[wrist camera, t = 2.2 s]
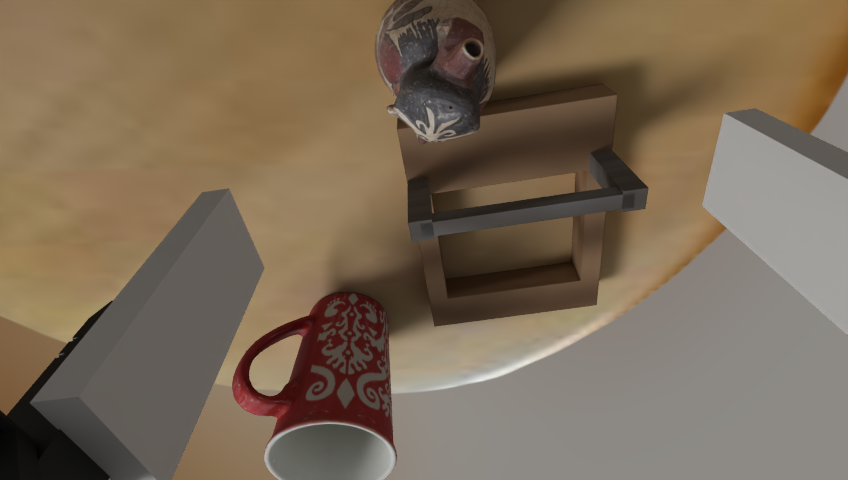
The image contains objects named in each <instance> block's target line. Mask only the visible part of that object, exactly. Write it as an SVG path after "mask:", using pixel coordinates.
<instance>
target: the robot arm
mask: <svg viewBox="0 0 848 480" xmlns="http://www.w3.org/2000/svg"><path fill="white" fill-rule="evenodd" d="M702 206H703V207H704V208H705V209H706V210H707V211H708V212H710V213H711V214H712V215H713V216H714V217H715V218H716V219H717V220H719V221H720V222H721V223H722V224H723V225H724V226H725V227H726V228H728V229H729V230H730V231H731V232H732V233H733V234H734V235H735V236H737V237H738V238H739V239H740V240H741V241H742V242H743V243H744V244H745V245H747V246H748V247H749V248H750V249H751V250H752V251H753V252H755V253H756V254H757V255H758V256H759V257H760V258H761V259H762V260H763V261H765V262H766V263H767V264H768V265H769V266H770V267H772V269H774V270H775V271H776V272H777V273H778V274H779V275H780V276H782V277H783V278H784V279H785V280H786V281H787V282H788V283H789V284H790V285H792V286H793V287H794V288H795V289H796V290H797V291H798V292H799V293H801V294H802V295H803V296H804V297H805V298H806V299H807V300H809V301H810V302H811V303H812V304H813V305H814V306H815V307H816V308H818V309H819V310H820V311H821V312H822V313H823V314H824V315H825V316H826V317H828V318H829V319H830V320H831V321H832V322H833V323H834V324H835V325H837V326H838V327H839V328H840V329H841V330H842V331H843V332H845V333H846V334H847V335H848V152H846V151H844V150H842V149H840V148H837V147H835V146H833V145H831V144H829V143H827V142H825V141H823V140H820V139H819V138H816V137H814V136H812V135H810V134H808V133H806V132H804V131H802V130H800V129H797V128H795V127H793V126H791V125H789V124H787V123H785V122H783V121H781V120H778V119H776V118H774V117H772V116H770V115H768V114H766V113H764V112H762V111H760V110H757V109H755V108H754V109H748V110H741V111H735V112H728V113H724V116H723V120H722V124H721V129H720V133H719V137H718V141H717V145H716V150H715V154H714V158H713V162H712V167H711V171H710V175H709V179H708V183H707V188H706V192H705V196H704V200H703V204H702ZM263 270H264V266H263V263H262V261H261V259H260V257H259V255H258V252H257V250H256V248H255V246H254V243H253V241H252V239H251V237H250V234H249V232H248V230H247V228H246V225H245V223H244V221H243V219H242V216H241V214H240V212H239V210H238V207H237V205H236V203H235V201H234V198H233V196H232V194H231V192H230V190H229V189H222V190H216V191H209V192H203V193H201V194H200V196H199V197H198V198H197V199H196V201H195V202H194V203H193V204H192V205H191V207H190V208H189V209H188V210H187V212H186V213H185V214H184V215H183V216H182V218H181V219H180V220H179V221H178V222H177V224H176V225H175V226H174V227H173V229H172V230H171V231H170V232H169V233H168V235H167V236H166V237H165V238H164V240H163V241H162V242H161V243H160V244H159V246H158V247H157V248H156V249H155V251H154V252H153V253H152V254H151V255H150V257H149V258H148V259H147V260H146V262H145V263H144V264H143V265H142V266H141V268H140V269H139V270H138V271H137V273H136V274H135V275H134V276H133V277H132V279H131V280H130V281H129V282H128V283H127V285H126V286H125V287H124V288H123V290H122V291H121V292H120V293H119V294H118V296H117V297H116V298H115V299H114V301H111V302H109V303H108V304H107V305H106V306H104V307H103V308H102V309H100V310H99V311H98V312H97V313H95V314H94V315H93V316H91V317H90V318H89V319H88V320H87V321H86V322H85V324H84V325H83V326H82V327H81V328H80V330H79V331H78V332H77V333H76V334H75V335H74V337H73V341H71V342H69V343H68V344H67V345H66V346H65V347H64V348H63V350H62V351H61V352H60V353H59V358H55V359H54V360H53V362H52V363H51V364H50V365H49V366H48V367H47V369H46V370H45V371H44V372H43V373H42V375H41V376H40V377H39V378H38V379H37V380H36V382H35V383H34V384H33V385H32V387H30V389H29V390H28V391H27V392H26V393H25V394H24V396H23V397H22V398H21V399H20V400H19V402H18V403H17V404H16V405H15V406H14V407H13V409H12V410H11V411H10V412H9V413H8V415H7V416H6V415H5V414H4V413H2V412H1V411H0V480H108V479H109V478H110V479H111V480H172V478H173V475H174V473H175V471H176V468H177V466H178V464H179V461H180V459H181V457H182V455H183V452H184V450H185V448H186V445H187V443H188V441H189V439H190V436H191V434H192V432H193V430H194V427H195V425H196V423H197V420H198V418H199V416H200V414H201V411H202V409H203V407H204V404H205V402H206V400H207V397H208V395H209V393H210V391H211V388H212V386H213V384H214V382H215V379H216V377H217V375H218V373H219V370H220V368H221V366H222V363H223V361H224V359H225V357H226V354H227V352H228V350H229V347H230V345H231V343H232V341H233V338H234V336H235V334H236V331H237V329H238V327H239V325H240V322H241V320H242V318H243V315H244V313H245V311H246V309H247V306H248V304H249V302H250V300H251V297H252V295H253V293H254V290H255V288H256V286H257V284H258V281H259V279H260V277H261V274H262V272H263Z"/></svg>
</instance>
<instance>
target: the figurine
mask: <svg viewBox="0 0 848 480" xmlns="http://www.w3.org/2000/svg"><path fill="white" fill-rule="evenodd" d="M375 57H376V63H377V66H378V70H379V73H380V75H381V77H382V79H383V81H384V83H385V85H386V86H387V87H388V88H389V89H390V91H391V92H392V94H393V95H394V96H395V97H396V101H395V104H394V105H389V106H388V107H387V111H388V112H389V113H390V114H391V115H394V116H397V117H399V118H400V119H401V120H402V121H403V122H404V123H405V124H406V125H407V126H409V127H410V128H411V129H412V130H413V131H414V132H415V133H416V135H417V140H418V141H419V142H420V144H425V143H426V142H444V141H448V140H453V139H457V138H461V137H465V136H468V135H472V134H474V133H475V132H477V131H478V130H479V128H480V111H481V110H483V108H484V106H485V105H486V103H487V101H488V100H489V98H490V96H491V93H492V90H493V87H494V84H495V75H496V48H495V43H494V38H493V31H492V29H491V27H490V25H489V23H488V20H487V18H486V16H485V14H484V12H483V11H482V10H481V9H480V8H479V7H478V5H477V4H476V3H475V2H474V1H473V0H396V1H395V2H394V3H393V4H392V5H391V6H390V8H389V9H388V10H387V11H386V13H385V14H384V16H383V18H382V20H381V23H380V25H379V28H378V30H377V35H376V42H375Z"/></svg>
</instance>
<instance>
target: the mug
mask: <svg viewBox="0 0 848 480" xmlns="http://www.w3.org/2000/svg"><path fill="white" fill-rule="evenodd" d="M296 334H298V335H301V336H302V337H303V339H302V342H301V345H300V348H299V351H298V355H297V358H296V361H295V364H294V368H293V371H292V374H291V377H290V380H289V383H287V384H286V385H285V387H284V388H283V390H282V391H281V392H280V393H279V394H277V395H275V396H266V395H263V394H261V393H258V392H257V391H256V390H255V389H254V388H253V386H252V385H251V382H250V380H249V369H250V366H251V363H252V361H253V359H254V358H255V357H256V356H257V355H258V354H259V353H260V352H262V351H263V350H264V349H266V348H268V347H269V346H271V345H273V344H274V343H276V342H278V341H280V340H282V339H284V338H287V337H289V336H292V335H296ZM232 389H233V394H234V398H235V400H236V401H237V403H238V404H239V405H240V406H241V407H242V408H243V409H244V410H246V411H248V412H250V413H252V414H255V415H259V416H275V417H277V418H278V420H277V423H276V426H275V429H274V433H273V435H272V438H271V439H270V440H269V442H268V444H267V445H266V448H265V452H264V460H265V464H266V466H267V468H268V469H269V471H270V472H271V473H272V474H273V475H274V476H275V477H276V478H278V479H279V480H383V479H385V478H386V477H387V476H388V475H389V474H390V473H391V472H392V471H393V469H394V467H395V465H396V460H397V454H396V449H395V447H394V444H393V429H392V428H393V427H392V401H391V383H390V359H389V332H388V319H387V315H386V313H385V311H384V309H383V308H382V307H381V306H380V305H379V304H378V303H377V302H376V301H374V300H373V299H371V298H369V297H366V296H364V295H360V294H355V293H338V294H333V295H330V296H327V297H325V298H323V299H322V300H320V301H319V302H318V303H317V304H315V306H314V307H313V308H312V310H311V312H310V315H309V316H305V317H302V318H300V319H297V320H294V321H291V322H289V323H286V324H284V325H282V326H280V327H278V328H276V329H274V330H272V331H270V332H269V333H267V334H265V335H264V336H262V337H261V338H260V339H258V340H257V341H256V342H255V343H254V344H253V345H252V346H251V347H250V348H249V349H248V350H247V351H246V353H245V354H244V356H243V357H242V359H241V360H240V362H239V364H238V366H237V368H236V371H235V373H234V377H233V382H232Z"/></svg>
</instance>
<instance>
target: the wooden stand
mask: <svg viewBox="0 0 848 480" xmlns="http://www.w3.org/2000/svg"><path fill="white" fill-rule="evenodd" d="M616 104H617V94H616V93H614V92H613V91H611V90H610V89H609V88H607V87H606V86H605V85H603V84H600V85H593V86H587V87H581V88H574V89H568V90H562V91H556V92H549V93H543V94H537V95H530V96H524V97H518V98H512V99H505V100H499V101H493V102H487V103H486V105H485V106H484V108H483V110H481V111H480V128H479V130H478V131H477V132H475V133H474V134H472V135H468V136H465V137H461V138H457V139H453V140H448V141H444V142H426V143H425V144H420V142H419V141H418V140H417V135H416V133H415V132H414V131H413V130H412V129H411V128H410V127H409V126H407V125H406V124H405V123H404V122H403V121H402V120H401V119H400V118H399V117H398V121H397V131H398V137H399V142H400V147H401V152H402V158H403V163H404V168H405V173H406V179H407V184H408V225H409V230H410V235H411V240H412V242H417V241H418V242H419V247H420V252H421V258H422V263H423V268H424V273H425V279H426V284H427V289H428V294H429V300H430V305H431V310H432V315H433V321H434V326H442V325H450V324H457V323H465V322H472V321H480V320H487V319H495V318H502V317H510V316H517V315H525V314H533V313H540V312H548V311H555V310H563V309H570V308H578V307H585V306H593V305H597V295H598V285H599V275H600V265H601V255H602V245H603V235H604V225H605V215H606V211H613V210H620V212H626V211H633V210H640V209H645V207H646V200H647V194H648V187H647V186H646V185H645V184H644V183H643V182H642V181H641V180H640V179H639V178H638V177H637V176H636V175H635V174H634V173H633V172H632V171H631V170H630V168H629V167H628V166H627V165H626V164H625V163H624V162H623V161H622V160H621V159H620V158H619V157H618V156H617V155H616V154H615V153H614V152H613V151H612V144H613V134H614V124H615V114H616ZM575 172H576V178H575V193H568V194H561V195H555V196H548V197H541V198H534V199H527V200H521V201H514V202H507V203H500V204H493V205H486V206H480V207H473V208H466V209H459V210H452V211H445V212H439V213H435V211H434V204H433V198H432V194H434V193H441V192H447V191H454V190H461V189H467V188H474V187H481V186H488V185H494V184H501V183H508V182H514V181H521V180H528V179H535V178H541V177H548V176H555V175H561V174H568V173H575ZM572 216H574V217H573V237H572V256H571V262H569V263H562V264H555V265H548V266H540V267H533V268H526V269H519V270H511V271H504V272H497V273H490V274H482V275H475V276H468V277H461V278H453V279H446V280H445V274H444V268H443V262H442V255H441V249H440V243H439V236H440V235H446V234H453V233H460V232H467V231H474V230H481V229H488V228H495V227H502V226H509V225H516V224H523V223H530V222H537V221H544V220H551V219H558V218H565V217H572Z"/></svg>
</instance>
